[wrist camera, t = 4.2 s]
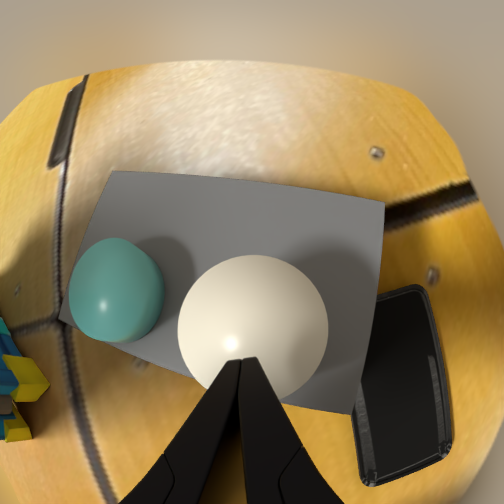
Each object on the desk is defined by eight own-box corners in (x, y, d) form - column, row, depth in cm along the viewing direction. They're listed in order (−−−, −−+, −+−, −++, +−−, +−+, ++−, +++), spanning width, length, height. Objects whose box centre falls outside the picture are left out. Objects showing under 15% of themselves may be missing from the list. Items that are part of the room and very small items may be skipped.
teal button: (173, 357, 16) (130, 356, 12) (107, 330, 17) (59, 320, 13) (195, 273, 18) (162, 246, 13) (128, 257, 19) (87, 231, 14)
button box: (333, 392, 18) (351, 415, 11) (118, 331, 22) (58, 318, 15) (360, 249, 21) (384, 202, 14) (155, 215, 25) (112, 170, 18)
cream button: (305, 397, 13) (307, 419, 8) (203, 371, 14) (162, 378, 10) (328, 295, 14) (341, 269, 10) (228, 275, 16) (200, 243, 11)
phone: (362, 490, 14) (330, 307, 19) (359, 484, 15) (328, 309, 20) (453, 454, 13) (425, 280, 19) (447, 450, 14) (419, 283, 20)
